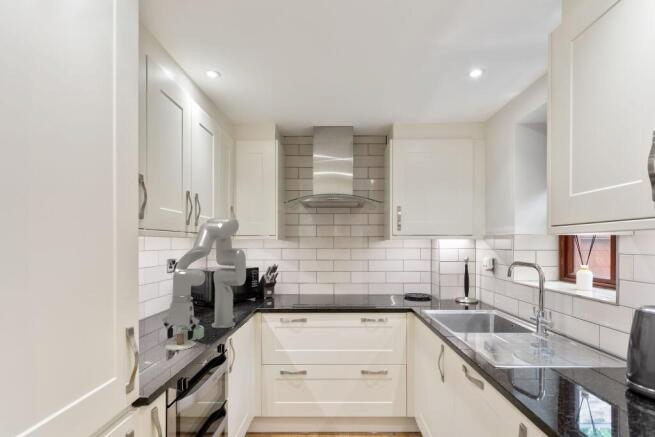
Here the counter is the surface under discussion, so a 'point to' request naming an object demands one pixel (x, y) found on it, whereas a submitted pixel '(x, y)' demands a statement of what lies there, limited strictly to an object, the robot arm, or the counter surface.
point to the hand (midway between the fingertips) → (180, 338)
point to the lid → (180, 343)
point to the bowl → (197, 332)
